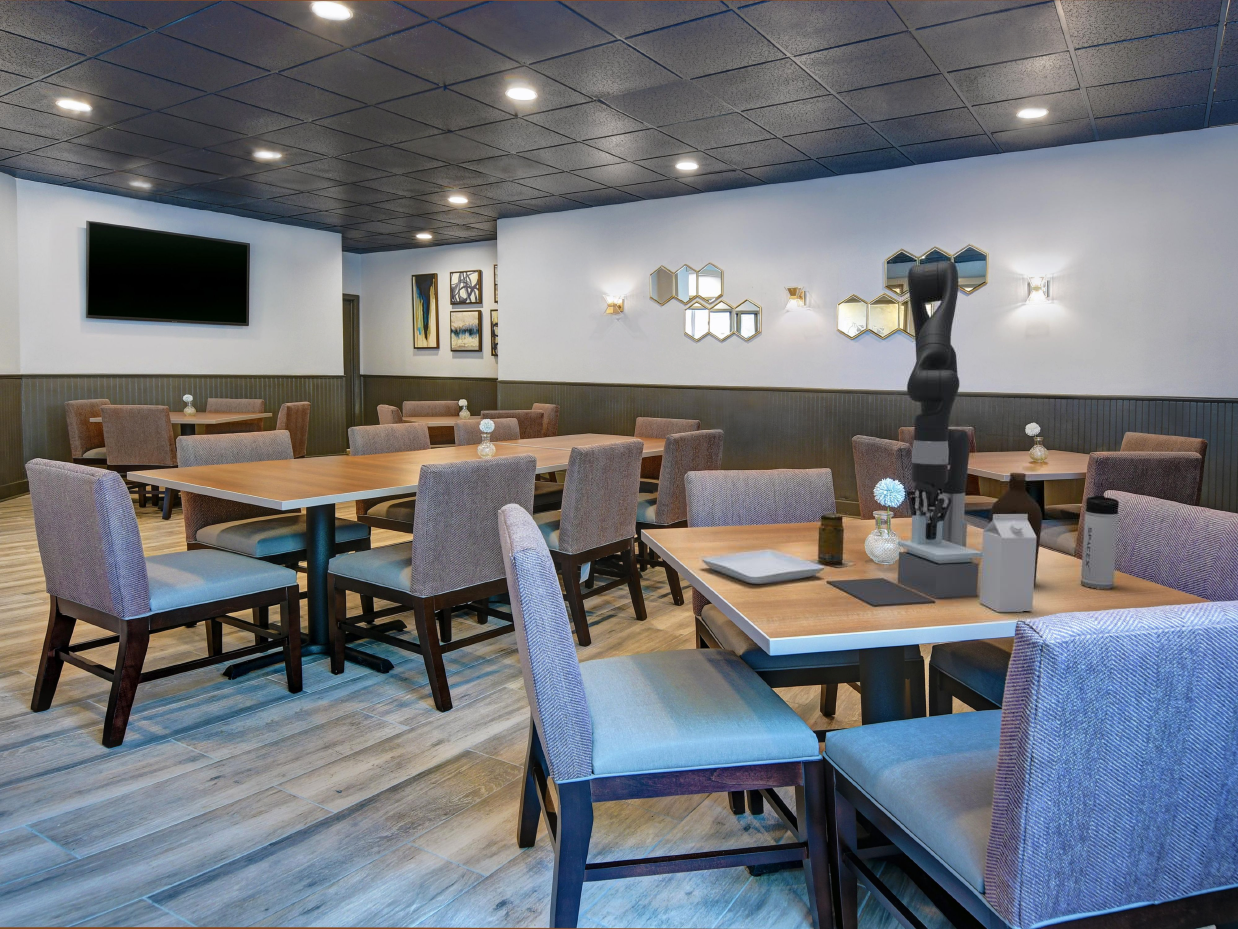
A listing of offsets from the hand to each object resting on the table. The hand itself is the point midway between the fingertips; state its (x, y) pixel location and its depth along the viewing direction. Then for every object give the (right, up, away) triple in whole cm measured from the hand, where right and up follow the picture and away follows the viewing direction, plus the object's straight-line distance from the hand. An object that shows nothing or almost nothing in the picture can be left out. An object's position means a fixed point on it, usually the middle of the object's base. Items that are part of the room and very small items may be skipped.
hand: (926, 537), depth 181 cm
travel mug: (+38, -11, 0) cm, 40 cm away
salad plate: (-35, -10, +10) cm, 38 cm away
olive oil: (+20, -11, +2) cm, 23 cm away
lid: (+1, -4, -4) cm, 6 cm away
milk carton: (+9, -13, -18) cm, 24 cm away
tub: (+1, -11, -3) cm, 11 cm away
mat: (-13, -11, -7) cm, 18 cm away
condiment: (-15, -9, +22) cm, 28 cm away
